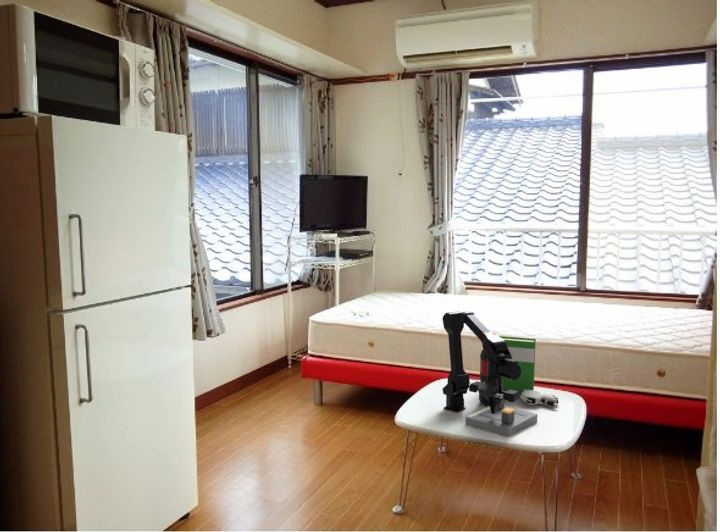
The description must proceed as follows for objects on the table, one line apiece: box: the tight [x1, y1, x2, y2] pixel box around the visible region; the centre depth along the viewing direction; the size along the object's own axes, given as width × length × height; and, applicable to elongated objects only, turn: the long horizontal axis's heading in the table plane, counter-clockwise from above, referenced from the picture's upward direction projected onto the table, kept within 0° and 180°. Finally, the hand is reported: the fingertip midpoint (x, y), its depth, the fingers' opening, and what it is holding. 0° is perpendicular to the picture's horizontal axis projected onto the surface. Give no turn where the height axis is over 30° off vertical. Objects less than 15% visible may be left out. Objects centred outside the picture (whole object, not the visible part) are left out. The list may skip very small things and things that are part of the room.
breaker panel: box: [464, 405, 538, 438], centre depth 228 cm, size 18×22×3 cm
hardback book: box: [498, 335, 536, 396], centre depth 266 cm, size 18×7×24 cm, turn 71°
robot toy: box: [520, 389, 559, 407], centre depth 251 cm, size 12×4×15 cm
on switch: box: [497, 399, 505, 410], centre depth 235 cm, size 3×4×4 cm
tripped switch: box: [501, 406, 515, 424], centre depth 220 cm, size 3×4×4 cm
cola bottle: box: [478, 332, 501, 407], centre depth 249 cm, size 8×8×30 cm
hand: (493, 413), depth 225 cm, fingers closed
